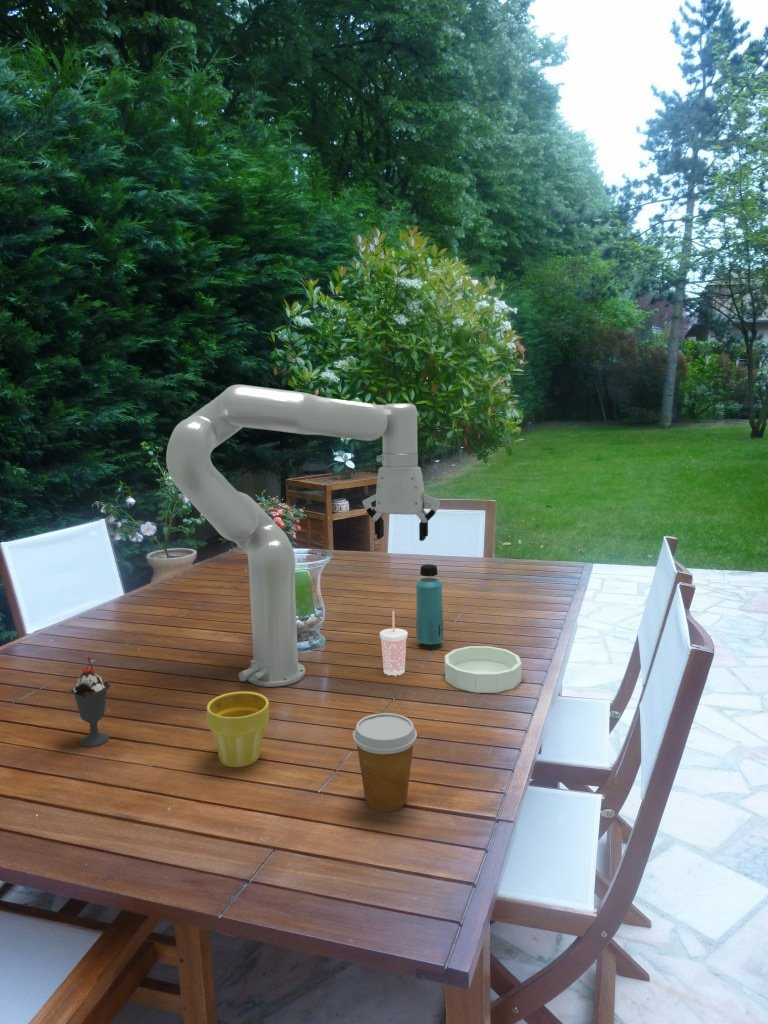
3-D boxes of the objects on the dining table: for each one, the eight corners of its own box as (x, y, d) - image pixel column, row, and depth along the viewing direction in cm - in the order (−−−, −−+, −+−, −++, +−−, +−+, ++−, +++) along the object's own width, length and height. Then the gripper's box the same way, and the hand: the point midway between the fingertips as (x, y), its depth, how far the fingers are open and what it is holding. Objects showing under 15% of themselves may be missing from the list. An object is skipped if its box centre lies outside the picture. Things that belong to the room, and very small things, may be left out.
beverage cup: (374, 672, 157) (373, 611, 154) (393, 664, 161) (393, 604, 159) (394, 679, 152) (393, 616, 150) (413, 671, 157) (413, 610, 154)
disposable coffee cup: (414, 781, 112) (414, 710, 110) (419, 817, 103) (419, 740, 101) (354, 783, 112) (353, 712, 110) (354, 819, 103) (352, 742, 101)
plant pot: (283, 751, 123) (281, 698, 121) (243, 779, 114) (240, 722, 112) (238, 737, 128) (235, 686, 126) (196, 763, 119) (192, 708, 117)
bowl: (502, 698, 142) (502, 680, 141) (431, 682, 150) (431, 664, 150) (531, 671, 155) (531, 654, 155) (465, 658, 164) (465, 641, 163)
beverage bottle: (441, 651, 168) (441, 569, 165) (413, 649, 170) (413, 568, 166) (444, 641, 175) (444, 562, 171) (418, 640, 176) (417, 561, 173)
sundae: (102, 728, 132) (95, 651, 130) (121, 738, 128) (114, 659, 126) (67, 741, 127) (59, 662, 125) (86, 753, 123) (79, 671, 121)
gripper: (356, 462, 152) (358, 540, 155) (435, 463, 147) (436, 544, 150) (367, 459, 159) (369, 533, 162) (443, 459, 154) (443, 537, 157)
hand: (401, 538), depth 156 cm, fingers open, 9 cm apart
